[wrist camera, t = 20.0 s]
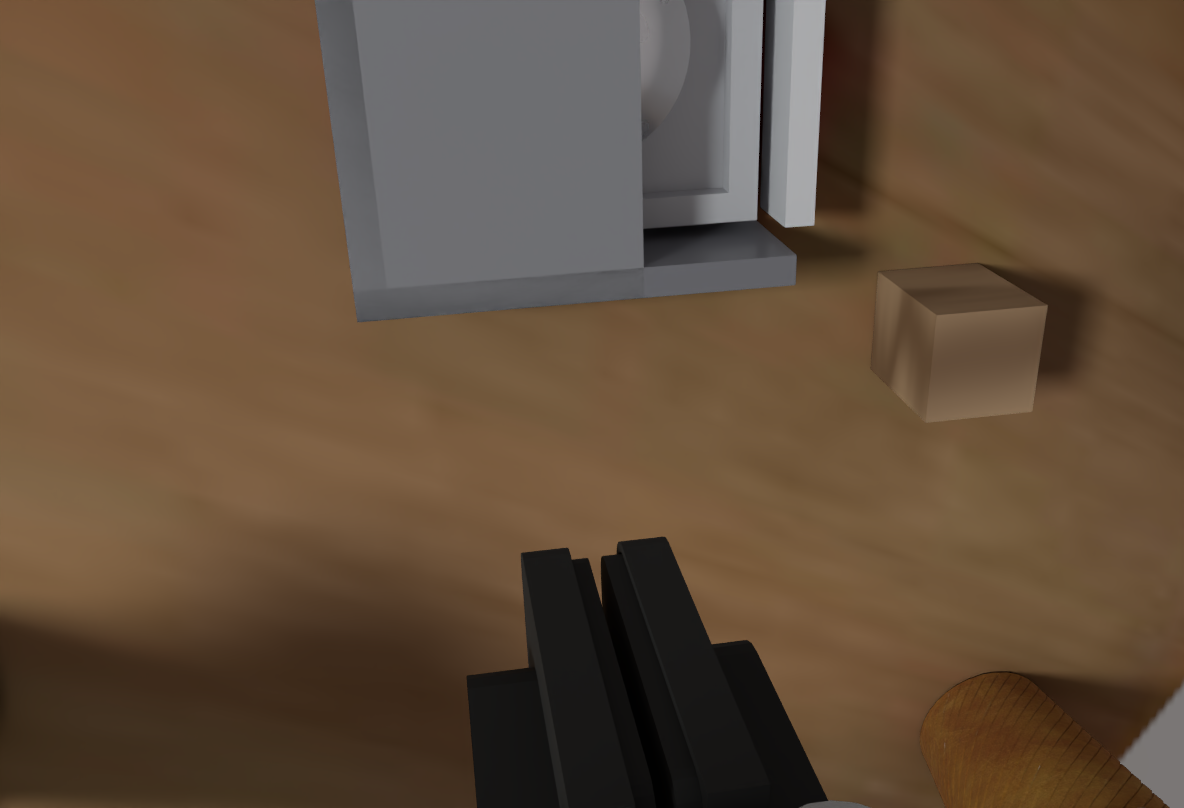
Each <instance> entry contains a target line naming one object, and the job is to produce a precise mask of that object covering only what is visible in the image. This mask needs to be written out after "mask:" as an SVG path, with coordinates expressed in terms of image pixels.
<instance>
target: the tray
mask: <svg viewBox="0 0 1184 808" xmlns="http://www.w3.org/2000/svg"><path fill="white" fill-rule="evenodd" d="M683 1H684V3H685V6H686V10H687V15H688V20H689V26H690V38H691V40H690V57H689V64H688V70H687V73H686V77H685V80H684V84H683V86H682V89H681V91H680V93H679V96H678V98H677V100H676V102H675V104H674V105H673V107H672V109H671V111H670V112H669V113H668V115H667V116H666V117H665V119H664V120H663V121H662V123H661V124H660V125H659V126H658V127H657V128H656V129H655V130H654V131H653V132H652V133H651V134H650V135H649V136H648V137H647V138H646V139H644V140H643V141H642V190H643V229H645V228H658V227H671V226H684V225H697V224H710V223H723V222H736V221H749V220H757V202H758V167H759V133H760V98H761V63H762V29H763V0H683ZM825 4H826V0H766V28H765V62H764V95H763V128H762V162H761V195H760V208H762V209H763V210H764V211H765V212H767V213H768V214H769V215H770V216H771V217H773V218H774V219H775V220H776V221H778V222H779V223H780V224H781V225H782V226H784V227H785V228H787V227H800V226H813V225H814V218H815V199H816V179H817V160H818V140H819V121H820V101H821V82H822V62H823V43H824V23H825Z"/></svg>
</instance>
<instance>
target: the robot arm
mask: <svg viewBox="0 0 1184 808" xmlns="http://www.w3.org/2000/svg"><path fill="white" fill-rule="evenodd" d="M521 568H522V582H523V595H524V609H525V623H526V636H527V650H528V664H529V668H524V669H516V670H508V671H500V672H493V673H485V674H477V675H469V676H467V687H468V700H469V712H470V724H471V737H472V749H473V761H474V774H475V786H476V798H477V808H870V807H867V806H864V805H861V804H858V803H852V802H842V801H828V799H827V797H826V795H825V793H824V791H823V789H822V787H821V785H820V783H819V780H818V778H817V776H816V774H815V772H814V770H813V768H812V766H811V764H810V762H809V760H808V757H807V755H806V753H805V751H804V749H803V747H802V745H801V743H800V741H799V739H798V737H797V735H796V732H795V730H794V728H793V726H792V724H791V722H790V720H789V718H788V716H787V714H786V712H785V709H784V707H783V705H782V703H781V701H780V699H779V697H778V695H777V693H776V691H775V689H774V687H773V684H772V682H771V680H770V678H769V676H768V674H767V672H766V670H765V668H764V666H763V664H762V661H761V659H760V657H759V655H758V653H757V651H756V650H755V648H754V646H753V645H752V643H751V642H749V641H747V640H743V641H735V642H727V643H720V644H711V642H710V640H709V637H708V635H707V633H706V630H705V628H704V625H703V623H702V621H701V618H700V616H699V614H698V611H697V609H696V606H695V604H694V602H693V599H692V597H691V595H690V592H689V590H688V587H687V585H686V583H685V580H684V578H683V576H682V573H681V571H680V568H679V566H678V564H677V561H676V559H675V557H674V554H673V552H672V550H671V547H670V545H669V542H668V541H667V539H666V537H657V538H648V539H639V540H630V541H621V542H618V544H617V555H609V556H602V558H601V585H602V604H601V601H600V598H599V594H598V591H597V587H596V584H595V580H594V577H593V573H592V570H591V566H590V563H589V560H588V558H583V559H574V560H572V559H571V555H570V552H569V549H568V548H560V549H551V550H543V551H534V552H525V553H521Z"/></svg>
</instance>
